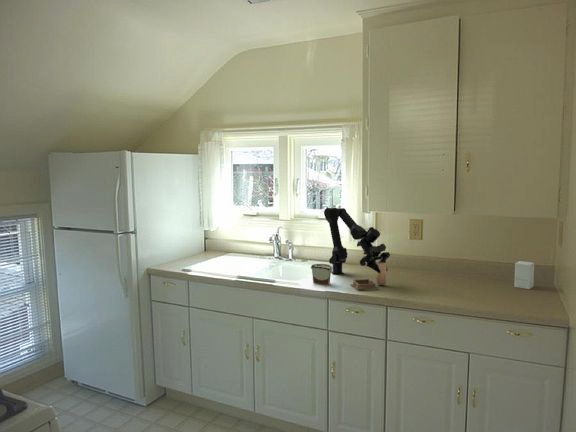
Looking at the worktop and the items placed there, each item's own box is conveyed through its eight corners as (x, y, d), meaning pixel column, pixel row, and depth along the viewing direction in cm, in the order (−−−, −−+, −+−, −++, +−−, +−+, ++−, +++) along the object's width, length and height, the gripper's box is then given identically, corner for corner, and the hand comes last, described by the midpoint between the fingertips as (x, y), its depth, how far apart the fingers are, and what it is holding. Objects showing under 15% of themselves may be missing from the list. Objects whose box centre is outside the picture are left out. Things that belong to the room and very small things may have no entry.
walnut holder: (350, 285, 232) (350, 279, 232) (369, 284, 234) (369, 278, 234) (357, 291, 221) (357, 285, 221) (378, 289, 224) (378, 283, 223)
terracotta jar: (375, 282, 233) (375, 262, 232) (383, 281, 234) (384, 261, 233) (378, 285, 229) (379, 264, 227) (387, 284, 230) (388, 263, 228)
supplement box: (533, 286, 225) (535, 262, 224) (529, 289, 220) (530, 265, 219) (518, 284, 231) (519, 260, 229) (513, 286, 225) (514, 262, 224)
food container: (336, 283, 237) (336, 265, 236) (330, 285, 232) (330, 267, 231) (316, 280, 244) (316, 262, 242) (310, 282, 239) (310, 264, 237)
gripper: (363, 241, 227) (379, 265, 219) (388, 237, 237) (403, 260, 230) (352, 253, 234) (367, 277, 226) (376, 249, 245) (391, 272, 237)
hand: (383, 271), depth 230 cm, fingers closed on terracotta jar, 5 cm apart
